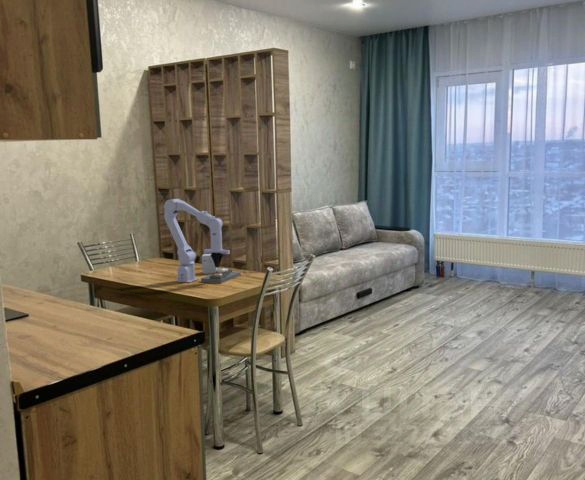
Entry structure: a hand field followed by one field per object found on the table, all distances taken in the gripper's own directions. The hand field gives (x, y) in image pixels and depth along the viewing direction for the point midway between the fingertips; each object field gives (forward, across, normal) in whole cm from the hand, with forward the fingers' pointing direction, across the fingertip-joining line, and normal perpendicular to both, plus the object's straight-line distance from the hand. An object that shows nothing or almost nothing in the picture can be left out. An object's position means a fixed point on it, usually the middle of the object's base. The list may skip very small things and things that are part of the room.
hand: (217, 267), depth 300 cm
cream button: (+4, +2, -6) cm, 7 cm away
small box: (+8, +17, -19) cm, 26 cm away
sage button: (+5, +4, -13) cm, 14 cm away
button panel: (+8, +2, -6) cm, 10 cm away
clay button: (+5, 0, 0) cm, 5 cm away
